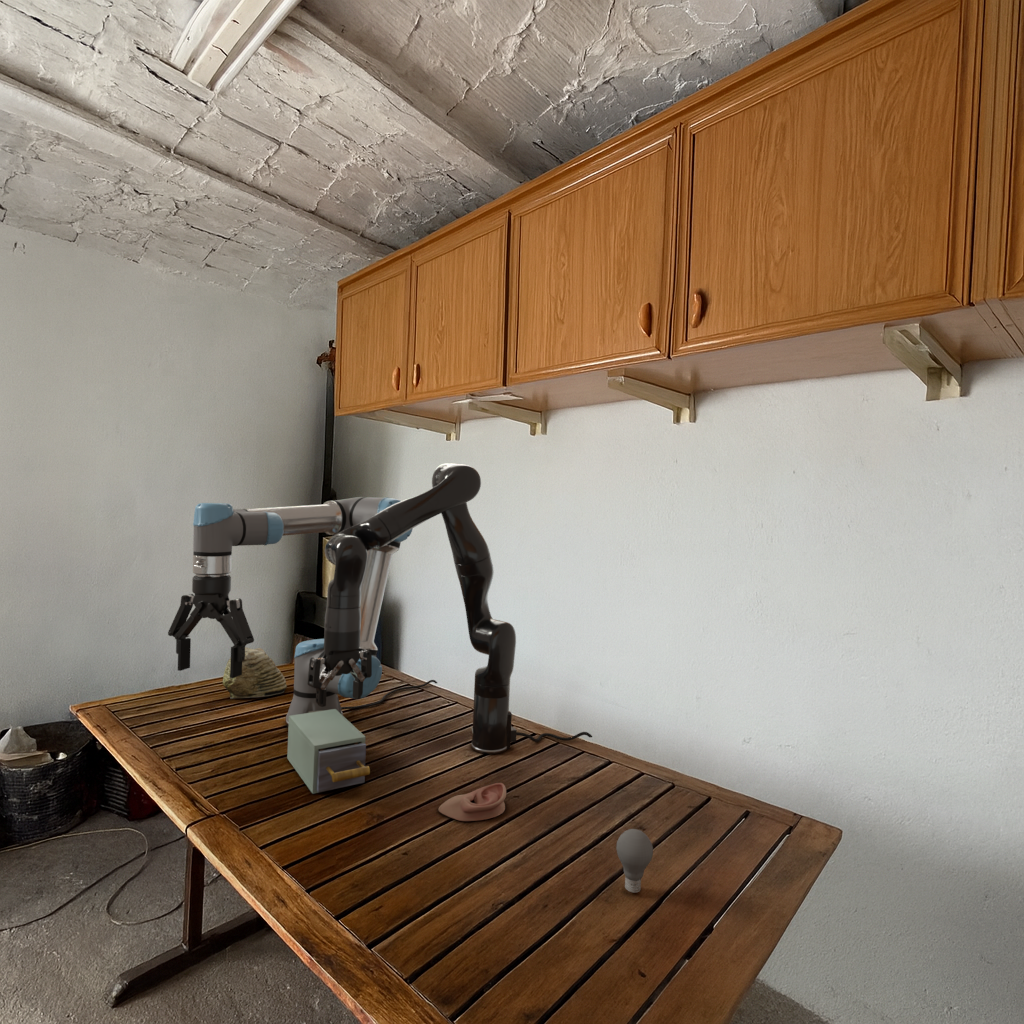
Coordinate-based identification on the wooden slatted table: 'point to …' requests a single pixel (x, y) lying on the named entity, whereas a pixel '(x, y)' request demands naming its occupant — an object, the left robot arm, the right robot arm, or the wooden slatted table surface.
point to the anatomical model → (476, 804)
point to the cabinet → (317, 740)
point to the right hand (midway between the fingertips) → (339, 701)
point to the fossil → (255, 676)
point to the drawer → (341, 766)
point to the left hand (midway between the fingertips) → (209, 672)
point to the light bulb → (634, 857)
